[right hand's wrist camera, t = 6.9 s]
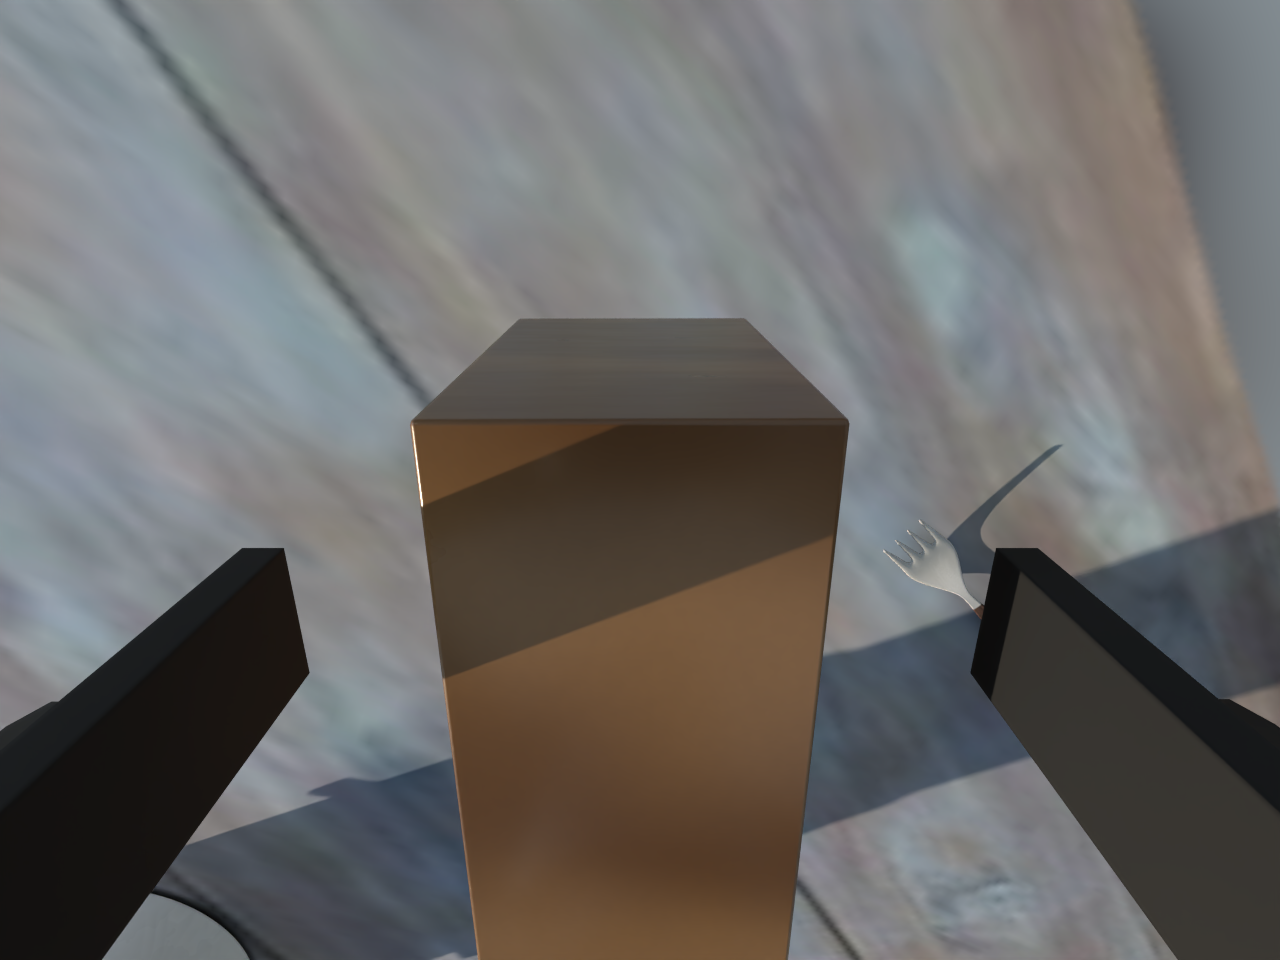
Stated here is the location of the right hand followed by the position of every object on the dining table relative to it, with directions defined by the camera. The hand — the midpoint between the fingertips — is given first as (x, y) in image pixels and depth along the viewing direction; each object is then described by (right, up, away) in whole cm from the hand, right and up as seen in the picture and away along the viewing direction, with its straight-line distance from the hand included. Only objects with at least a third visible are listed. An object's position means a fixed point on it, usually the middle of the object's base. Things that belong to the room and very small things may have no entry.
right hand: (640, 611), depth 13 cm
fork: (+18, -4, +23) cm, 29 cm away
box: (0, -5, +10) cm, 11 cm away
